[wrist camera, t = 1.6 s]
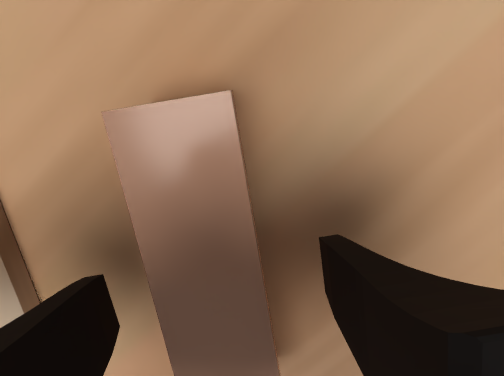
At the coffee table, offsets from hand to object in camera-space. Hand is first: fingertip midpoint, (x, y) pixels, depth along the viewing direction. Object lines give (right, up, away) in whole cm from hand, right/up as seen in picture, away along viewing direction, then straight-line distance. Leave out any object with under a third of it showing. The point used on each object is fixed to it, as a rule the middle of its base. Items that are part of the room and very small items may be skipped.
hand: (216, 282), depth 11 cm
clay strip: (0, +1, +3) cm, 3 cm away
